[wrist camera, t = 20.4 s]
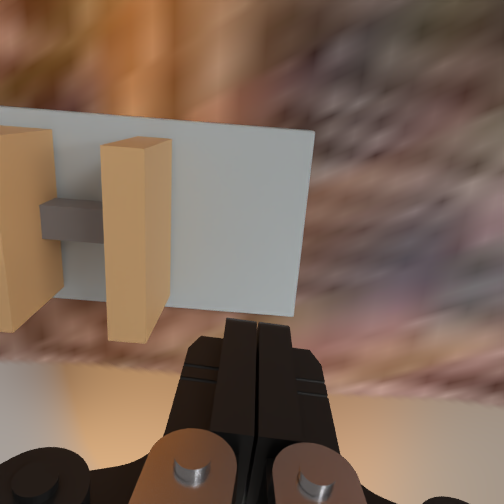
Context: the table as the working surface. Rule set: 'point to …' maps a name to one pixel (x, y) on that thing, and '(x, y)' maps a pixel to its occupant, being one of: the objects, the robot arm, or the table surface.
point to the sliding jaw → (86, 229)
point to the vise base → (196, 205)
